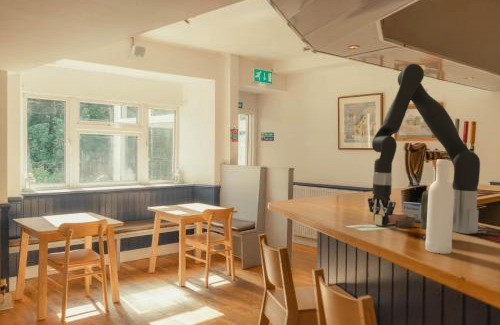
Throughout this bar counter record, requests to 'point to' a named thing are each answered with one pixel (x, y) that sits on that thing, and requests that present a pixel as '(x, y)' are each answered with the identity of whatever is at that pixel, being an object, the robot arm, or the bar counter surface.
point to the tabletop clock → (424, 211)
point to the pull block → (392, 219)
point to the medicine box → (412, 210)
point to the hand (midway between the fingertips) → (380, 223)
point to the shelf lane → (398, 224)
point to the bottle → (440, 211)
